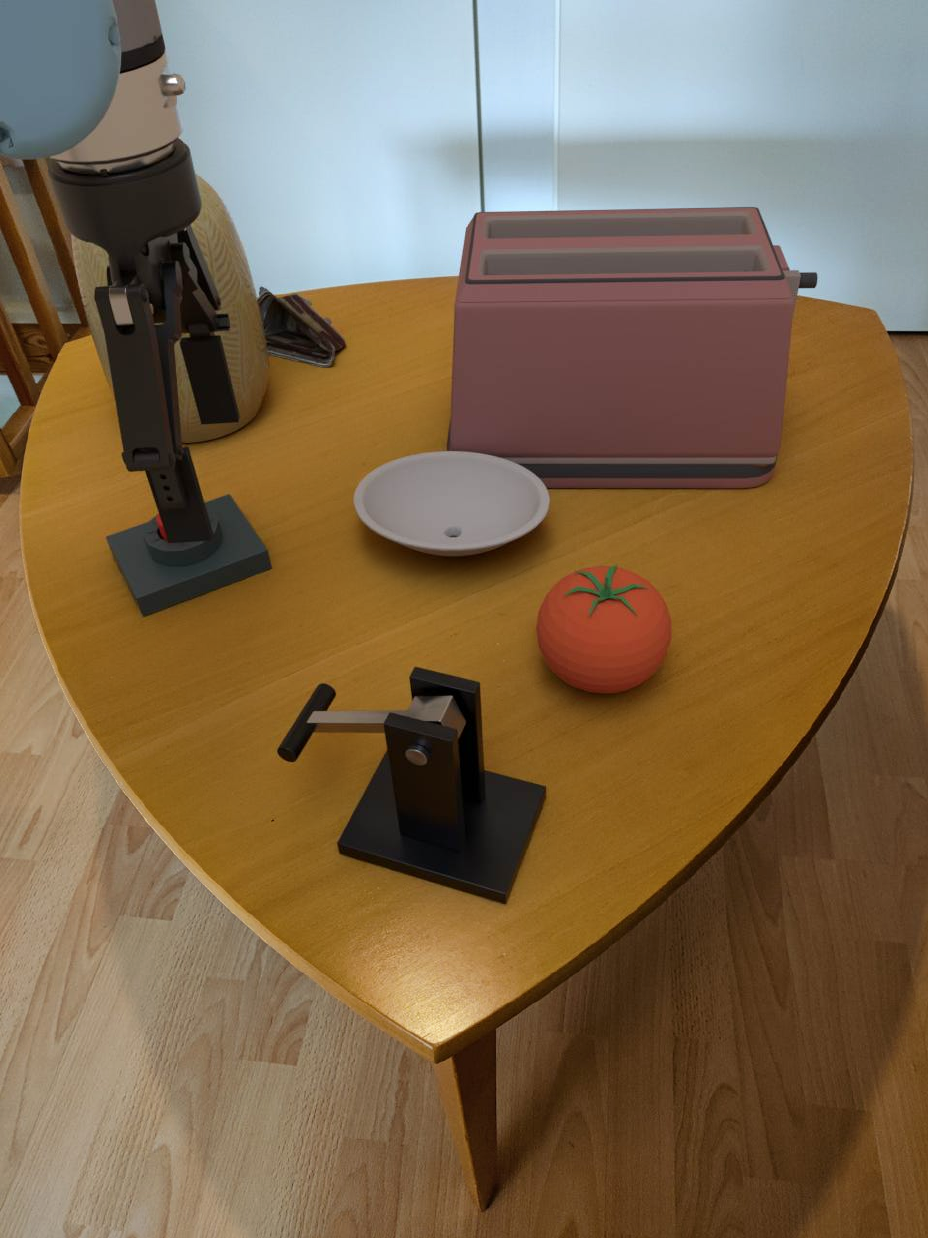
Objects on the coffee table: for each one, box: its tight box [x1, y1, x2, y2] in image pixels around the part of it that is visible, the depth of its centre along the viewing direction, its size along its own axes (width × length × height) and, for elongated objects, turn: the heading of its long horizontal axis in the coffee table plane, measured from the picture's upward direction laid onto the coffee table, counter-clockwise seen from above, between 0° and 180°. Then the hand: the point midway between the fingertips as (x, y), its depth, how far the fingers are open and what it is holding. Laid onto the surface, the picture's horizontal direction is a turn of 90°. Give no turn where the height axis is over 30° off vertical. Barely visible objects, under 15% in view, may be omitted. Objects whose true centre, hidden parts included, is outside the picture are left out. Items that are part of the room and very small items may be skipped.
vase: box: [70, 172, 270, 444], centre depth 101 cm, size 17×17×27 cm
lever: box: [276, 682, 466, 763], centre depth 64 cm, size 12×6×2 cm, turn 70°
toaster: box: [446, 206, 818, 489], centre depth 96 cm, size 19×34×20 cm, turn 86°
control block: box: [105, 493, 273, 617], centre depth 90 cm, size 12×10×4 cm
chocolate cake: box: [257, 286, 347, 368], centre depth 120 cm, size 10×7×12 cm
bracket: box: [336, 666, 547, 905], centre depth 65 cm, size 12×9×13 cm
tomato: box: [535, 564, 672, 694], centre depth 76 cm, size 10×10×10 cm
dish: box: [353, 450, 551, 557], centre depth 90 cm, size 18×14×5 cm
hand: (207, 475), depth 68 cm, fingers open, 13 cm apart
